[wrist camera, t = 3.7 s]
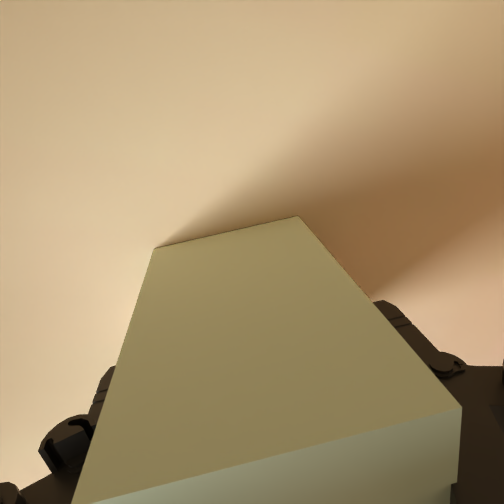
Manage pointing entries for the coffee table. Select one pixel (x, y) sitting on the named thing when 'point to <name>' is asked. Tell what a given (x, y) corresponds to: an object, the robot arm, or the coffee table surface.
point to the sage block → (267, 386)
